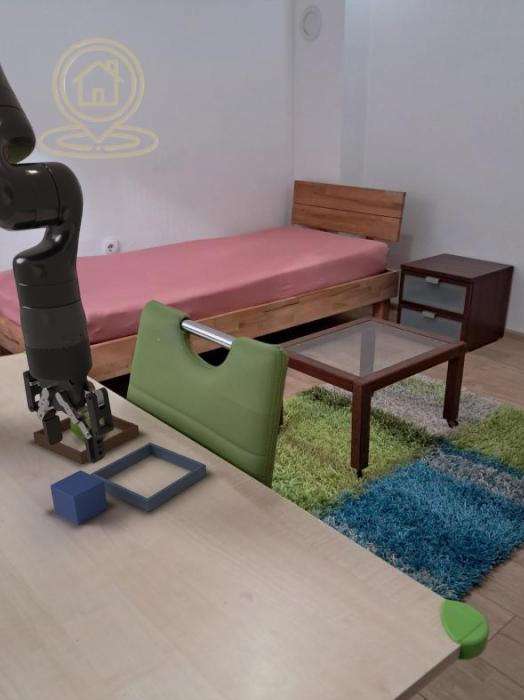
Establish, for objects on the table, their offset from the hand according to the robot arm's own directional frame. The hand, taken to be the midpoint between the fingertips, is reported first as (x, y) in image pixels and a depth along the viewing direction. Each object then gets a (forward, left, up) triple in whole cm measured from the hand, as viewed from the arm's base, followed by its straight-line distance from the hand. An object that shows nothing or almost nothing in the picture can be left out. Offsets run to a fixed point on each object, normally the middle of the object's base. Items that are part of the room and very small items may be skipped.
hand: (75, 450), depth 84 cm
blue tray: (+2, +11, -10) cm, 15 cm away
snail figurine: (-16, +14, -10) cm, 23 cm away
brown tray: (-16, +14, -10) cm, 23 cm away
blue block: (0, 0, -10) cm, 10 cm away
